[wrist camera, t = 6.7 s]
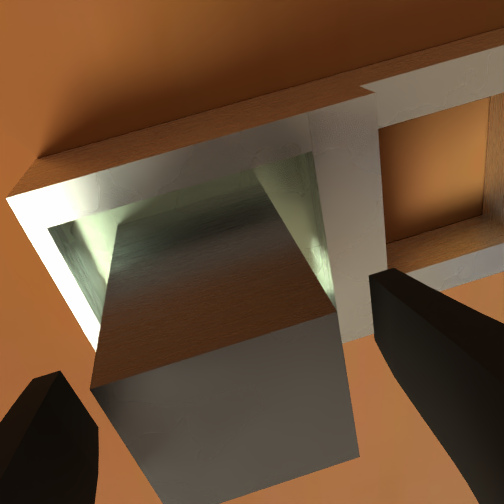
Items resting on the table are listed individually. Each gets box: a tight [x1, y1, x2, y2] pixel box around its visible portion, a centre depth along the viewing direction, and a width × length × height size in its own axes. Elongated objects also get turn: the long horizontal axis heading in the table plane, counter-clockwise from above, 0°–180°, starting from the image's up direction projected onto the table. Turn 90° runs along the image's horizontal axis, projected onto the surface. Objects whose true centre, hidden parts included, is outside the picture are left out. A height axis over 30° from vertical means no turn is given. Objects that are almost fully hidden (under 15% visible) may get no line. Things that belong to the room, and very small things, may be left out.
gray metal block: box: [90, 184, 360, 504], centre depth 11 cm, size 4×4×6 cm
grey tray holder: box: [6, 28, 504, 351], centre depth 14 cm, size 16×8×3 cm, turn 103°
